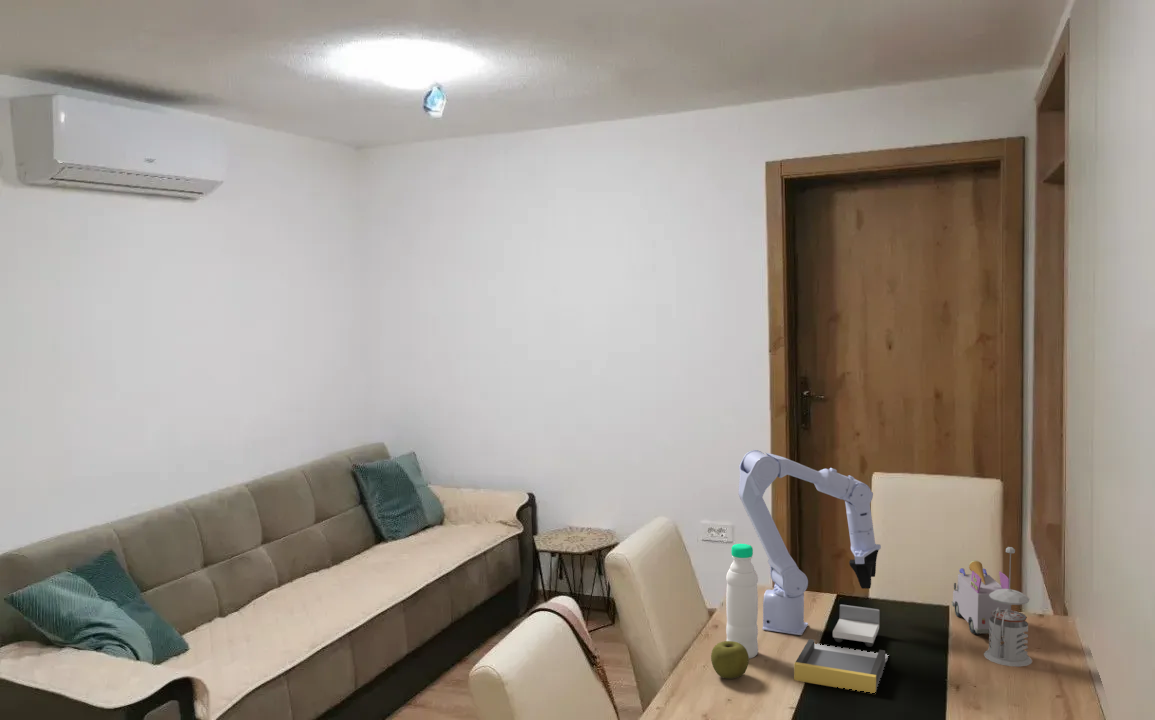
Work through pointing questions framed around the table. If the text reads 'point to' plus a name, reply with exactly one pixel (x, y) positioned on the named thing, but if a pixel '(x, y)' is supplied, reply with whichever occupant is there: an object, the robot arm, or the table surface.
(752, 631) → the water bottle
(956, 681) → the table surface
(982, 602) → the toy vehicle
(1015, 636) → the french press
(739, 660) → the apple
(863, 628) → the grey angled piece
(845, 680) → the dock
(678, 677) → the table surface
